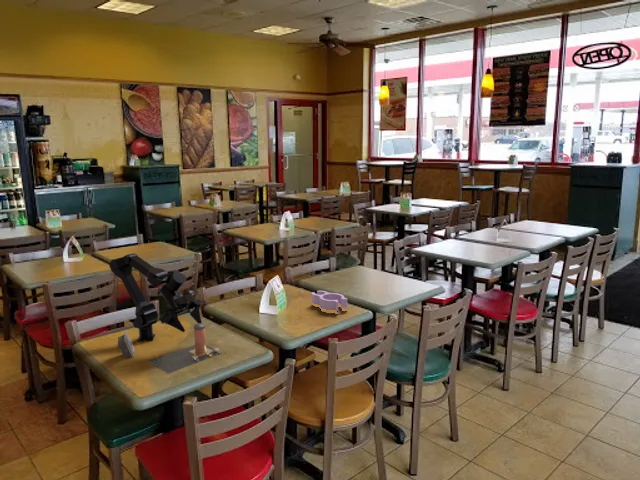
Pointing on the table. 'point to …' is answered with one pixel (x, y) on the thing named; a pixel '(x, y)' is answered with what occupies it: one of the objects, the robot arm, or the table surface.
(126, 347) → the electrical switch
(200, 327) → the post
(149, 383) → the table surface
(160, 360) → the breaker panel
